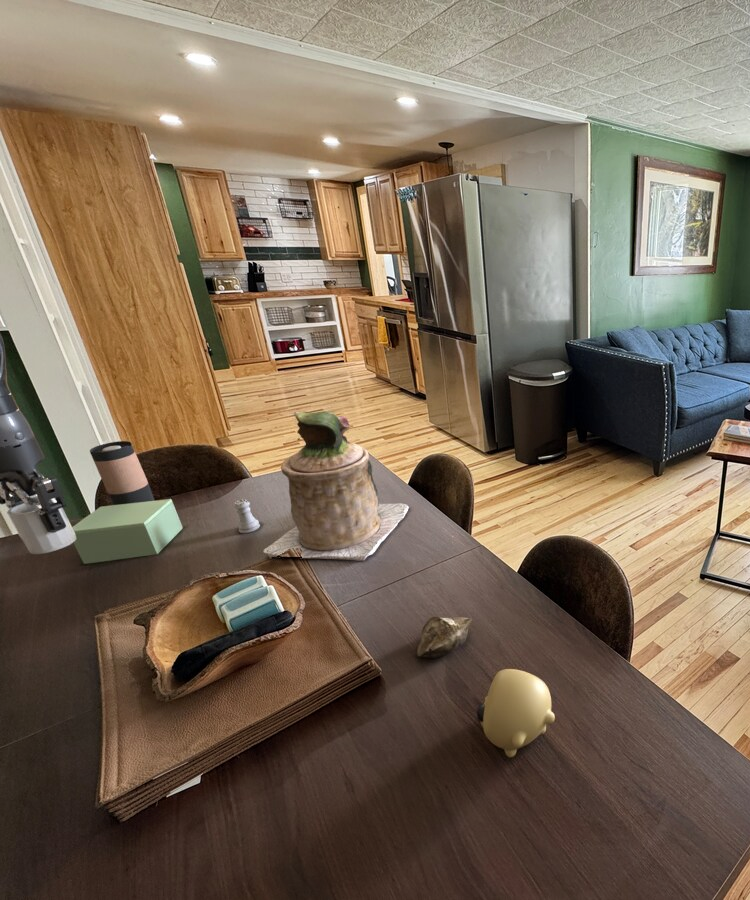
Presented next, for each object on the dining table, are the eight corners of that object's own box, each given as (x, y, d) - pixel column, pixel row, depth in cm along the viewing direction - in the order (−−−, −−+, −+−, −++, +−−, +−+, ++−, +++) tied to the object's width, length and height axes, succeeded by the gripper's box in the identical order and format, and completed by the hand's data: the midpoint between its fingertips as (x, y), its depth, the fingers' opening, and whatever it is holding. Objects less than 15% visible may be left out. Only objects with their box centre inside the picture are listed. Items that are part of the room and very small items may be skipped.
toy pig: (542, 727, 73) (514, 661, 76) (575, 722, 64) (541, 647, 67) (485, 768, 67) (456, 694, 70) (512, 767, 58) (478, 684, 61)
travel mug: (113, 522, 122) (80, 450, 114) (145, 507, 129) (116, 439, 121) (135, 526, 120) (103, 453, 112) (167, 511, 127) (139, 442, 119)
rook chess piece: (262, 523, 121) (254, 496, 118) (258, 532, 117) (249, 504, 114) (242, 526, 120) (232, 499, 117) (236, 535, 116) (227, 507, 113)
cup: (19, 556, 82) (-4, 516, 79) (45, 538, 87) (25, 499, 84) (61, 551, 83) (41, 511, 80) (85, 533, 88) (66, 495, 85)
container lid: (66, 535, 102) (64, 532, 102) (101, 509, 112) (100, 506, 112) (145, 525, 105) (143, 522, 105) (172, 501, 116) (171, 498, 115)
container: (84, 565, 105) (69, 535, 102) (117, 537, 115) (104, 509, 112) (157, 555, 108) (145, 526, 105) (183, 529, 119) (172, 501, 116)
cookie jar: (369, 563, 106) (339, 430, 94) (261, 561, 106) (217, 428, 94) (412, 508, 129) (392, 395, 116) (323, 507, 129) (294, 394, 117)
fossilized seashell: (426, 666, 77) (482, 643, 83) (419, 624, 77) (475, 606, 84) (411, 662, 82) (465, 641, 89) (404, 623, 83) (458, 606, 90)
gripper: (-65, 443, 75) (-13, 532, 82) (-3, 453, 72) (45, 545, 79) (0, 427, 82) (43, 511, 89) (59, 436, 79) (99, 522, 85)
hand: (44, 527), depth 84 cm, fingers closed on cup, 6 cm apart
